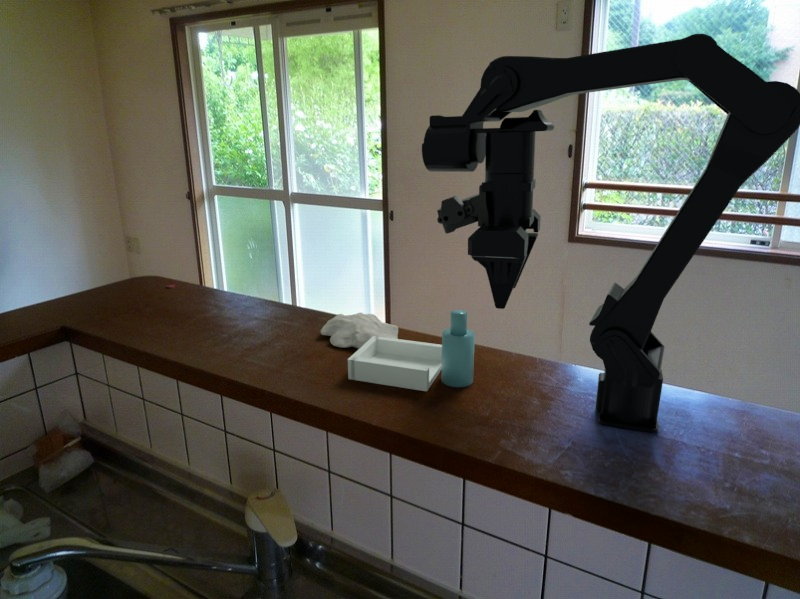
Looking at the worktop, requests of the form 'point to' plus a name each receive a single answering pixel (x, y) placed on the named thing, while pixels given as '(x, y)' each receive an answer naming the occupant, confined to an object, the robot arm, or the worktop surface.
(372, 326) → the decorative stone
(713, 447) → the worktop surface
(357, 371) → the u rest
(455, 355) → the bottle
